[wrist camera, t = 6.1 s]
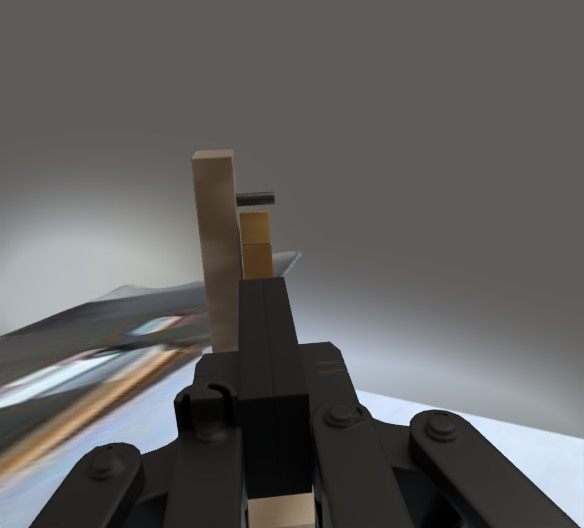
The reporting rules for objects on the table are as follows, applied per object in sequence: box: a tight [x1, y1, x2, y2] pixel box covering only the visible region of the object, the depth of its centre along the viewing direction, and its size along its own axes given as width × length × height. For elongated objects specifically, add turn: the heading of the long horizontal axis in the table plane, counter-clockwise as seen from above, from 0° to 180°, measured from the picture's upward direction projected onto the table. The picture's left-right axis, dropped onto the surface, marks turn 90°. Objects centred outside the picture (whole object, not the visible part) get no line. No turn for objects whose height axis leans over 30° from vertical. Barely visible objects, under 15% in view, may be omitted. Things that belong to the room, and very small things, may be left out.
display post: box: [191, 149, 315, 528], centre depth 35 cm, size 8×10×27 cm
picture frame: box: [239, 211, 273, 280], centre depth 32 cm, size 1×16×12 cm, turn 5°
